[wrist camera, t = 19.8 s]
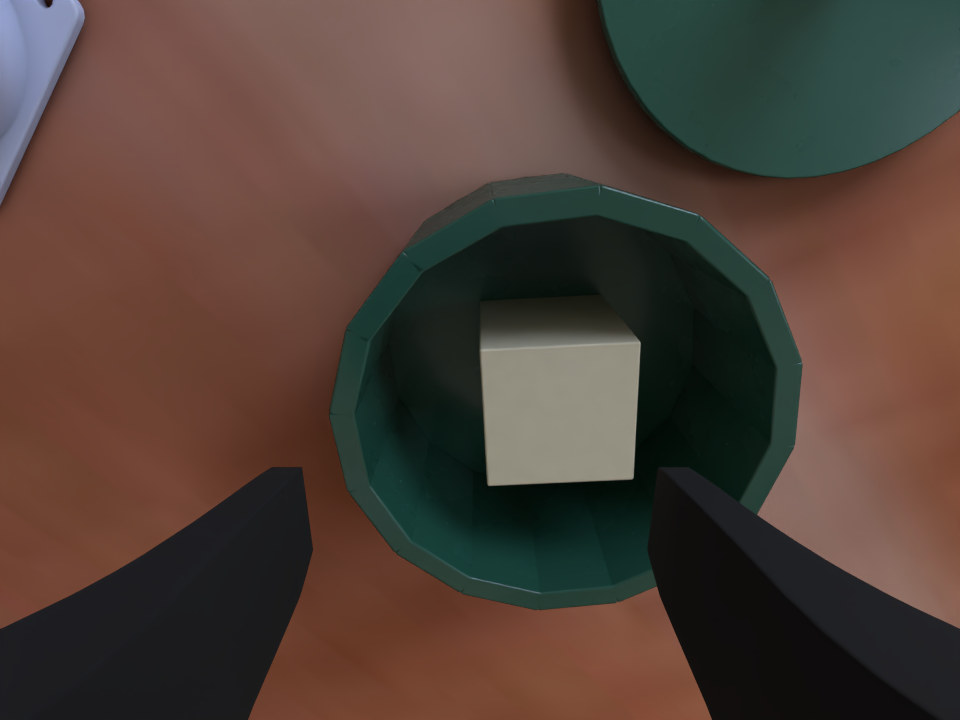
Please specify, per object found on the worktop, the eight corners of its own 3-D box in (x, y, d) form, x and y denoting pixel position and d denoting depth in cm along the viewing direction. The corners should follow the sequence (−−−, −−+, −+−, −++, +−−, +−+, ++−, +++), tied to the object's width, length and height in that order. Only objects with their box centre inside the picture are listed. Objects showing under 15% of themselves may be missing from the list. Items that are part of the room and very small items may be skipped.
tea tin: (311, 375, 21) (246, 464, 16) (518, 92, 18) (537, 65, 12) (556, 539, 24) (582, 668, 18) (778, 323, 21) (899, 395, 15)
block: (485, 410, 22) (487, 486, 17) (479, 300, 20) (479, 350, 15) (599, 404, 21) (634, 480, 17) (602, 293, 20) (641, 341, 15)
